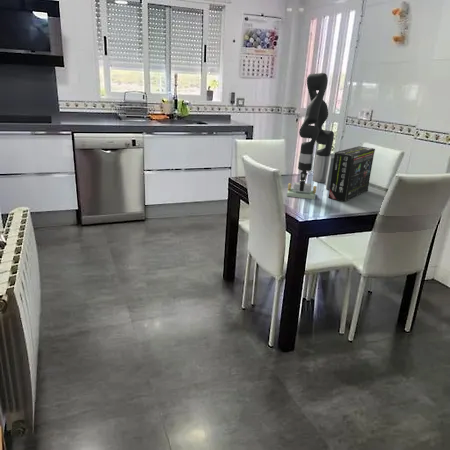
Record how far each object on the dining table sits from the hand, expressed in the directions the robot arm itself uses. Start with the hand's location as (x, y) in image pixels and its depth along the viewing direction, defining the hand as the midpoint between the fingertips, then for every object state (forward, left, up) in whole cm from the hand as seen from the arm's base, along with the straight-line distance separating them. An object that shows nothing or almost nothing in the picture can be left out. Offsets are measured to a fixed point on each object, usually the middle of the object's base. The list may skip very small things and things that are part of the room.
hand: (301, 189), depth 230 cm
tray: (0, 0, -4) cm, 4 cm away
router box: (-14, +27, -4) cm, 31 cm away
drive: (0, 0, -3) cm, 3 cm away
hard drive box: (-28, +17, -4) cm, 33 cm away
